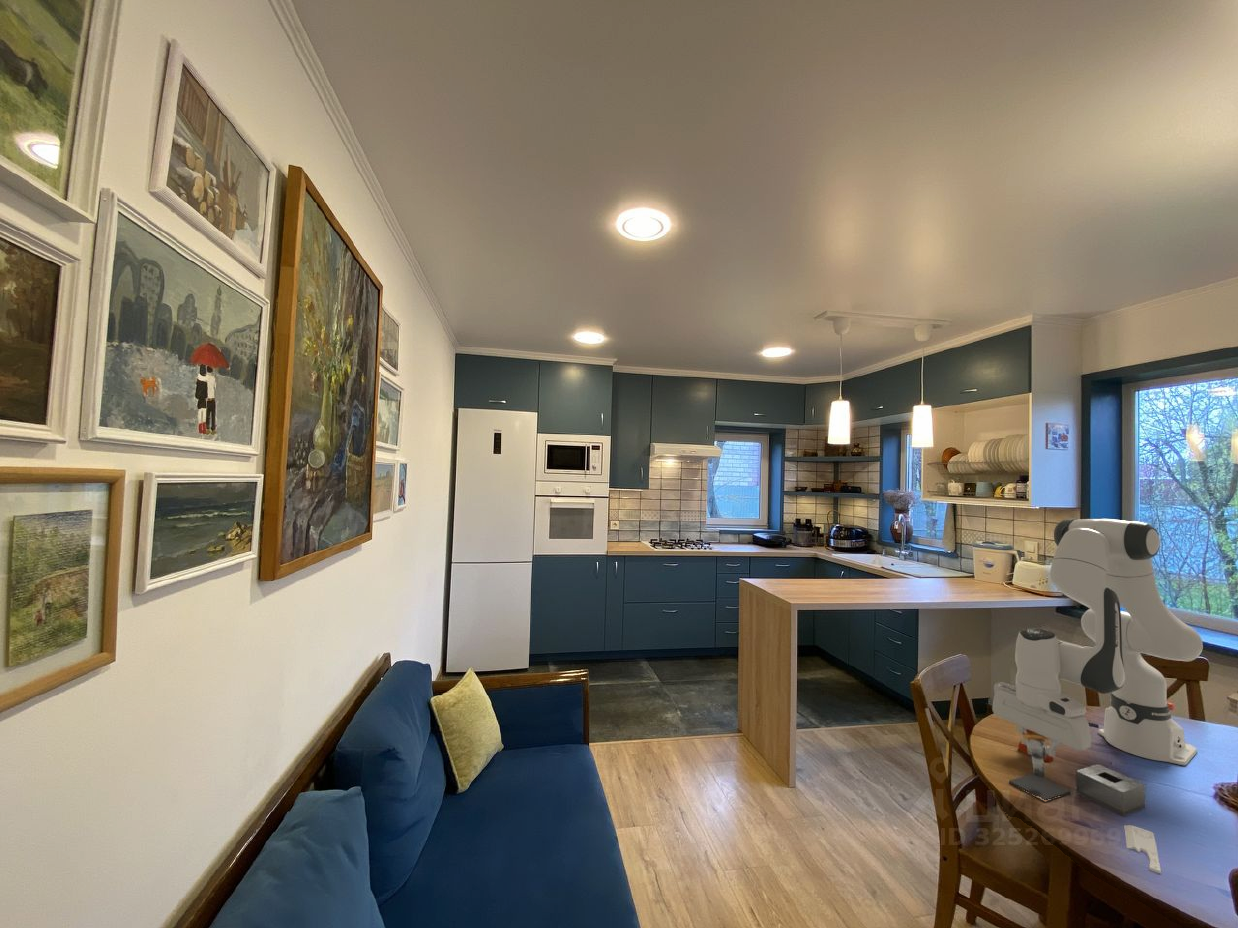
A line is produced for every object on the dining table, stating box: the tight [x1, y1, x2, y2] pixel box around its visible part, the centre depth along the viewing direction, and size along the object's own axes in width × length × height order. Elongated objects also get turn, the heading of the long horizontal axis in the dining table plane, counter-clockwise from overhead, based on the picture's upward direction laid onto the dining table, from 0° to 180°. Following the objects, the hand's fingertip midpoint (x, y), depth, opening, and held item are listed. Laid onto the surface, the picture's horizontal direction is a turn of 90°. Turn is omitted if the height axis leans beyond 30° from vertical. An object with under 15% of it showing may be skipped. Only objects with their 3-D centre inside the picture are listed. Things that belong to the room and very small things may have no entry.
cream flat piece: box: [1123, 824, 1162, 875], centre depth 105 cm, size 5×15×1 cm, turn 136°
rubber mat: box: [1008, 772, 1071, 800], centre depth 125 cm, size 10×8×1 cm
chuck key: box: [1020, 733, 1049, 778], centre depth 125 cm, size 4×6×10 cm, turn 75°
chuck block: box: [1075, 763, 1146, 817], centre depth 121 cm, size 9×9×6 cm
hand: (1038, 749), depth 126 cm, fingers closed on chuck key, 4 cm apart
